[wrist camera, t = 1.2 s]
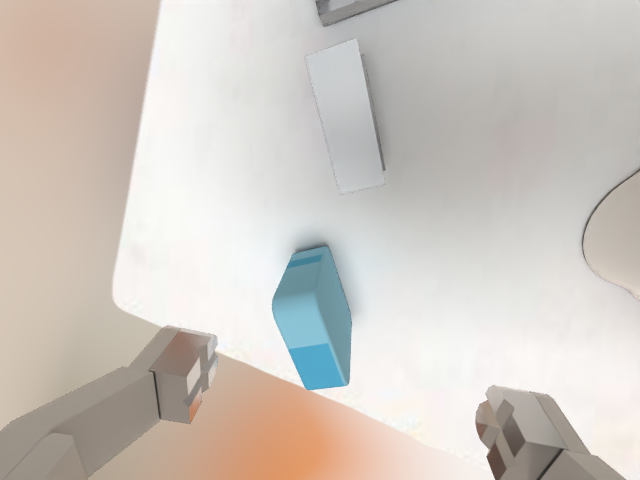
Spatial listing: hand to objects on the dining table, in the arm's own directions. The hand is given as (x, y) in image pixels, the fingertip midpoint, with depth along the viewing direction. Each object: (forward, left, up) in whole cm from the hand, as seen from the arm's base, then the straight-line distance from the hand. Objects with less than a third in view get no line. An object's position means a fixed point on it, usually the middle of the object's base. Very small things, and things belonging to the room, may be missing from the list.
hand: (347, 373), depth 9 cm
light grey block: (-1, -6, -27) cm, 28 cm away
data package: (+7, +13, -27) cm, 31 cm away
